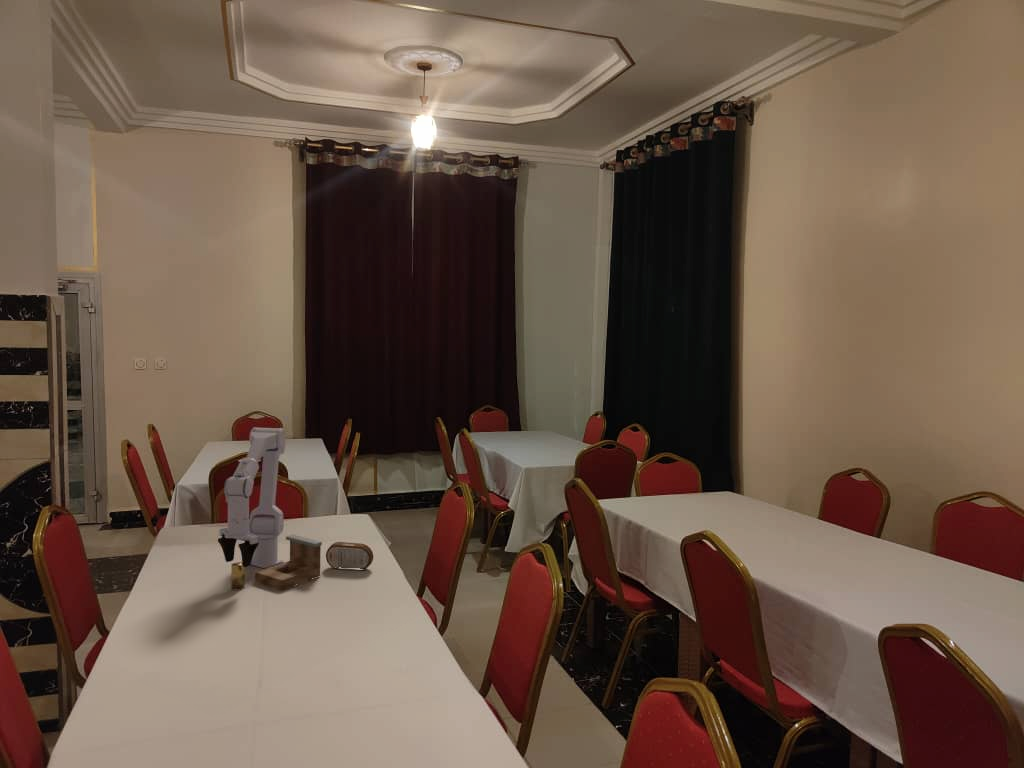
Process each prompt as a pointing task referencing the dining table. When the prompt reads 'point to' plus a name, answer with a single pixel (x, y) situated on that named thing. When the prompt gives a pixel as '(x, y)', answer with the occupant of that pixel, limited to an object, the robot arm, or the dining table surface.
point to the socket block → (293, 565)
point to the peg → (237, 576)
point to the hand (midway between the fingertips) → (238, 563)
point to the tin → (349, 555)
